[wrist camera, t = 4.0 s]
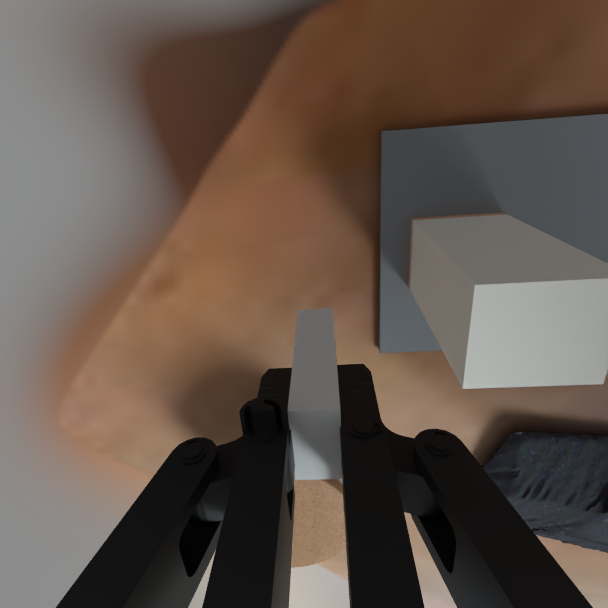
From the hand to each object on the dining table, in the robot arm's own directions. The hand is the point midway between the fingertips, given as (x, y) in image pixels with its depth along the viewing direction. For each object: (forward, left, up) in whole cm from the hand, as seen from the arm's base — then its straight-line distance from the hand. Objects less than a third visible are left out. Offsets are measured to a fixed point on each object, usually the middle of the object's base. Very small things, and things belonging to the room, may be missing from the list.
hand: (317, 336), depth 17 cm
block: (0, -9, -11) cm, 15 cm away
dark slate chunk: (-24, -24, -13) cm, 36 cm away
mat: (0, -15, -12) cm, 19 cm away
